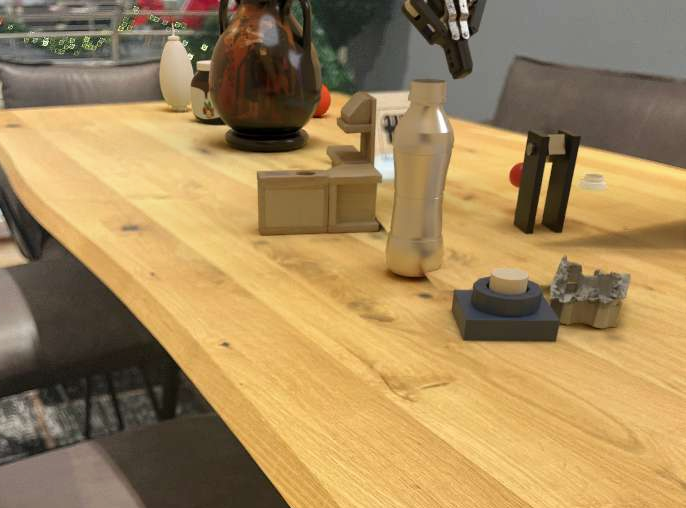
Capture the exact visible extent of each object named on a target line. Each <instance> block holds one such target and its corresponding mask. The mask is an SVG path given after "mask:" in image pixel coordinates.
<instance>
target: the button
mask: <svg viewBox="0 0 686 508" xmlns="http://www.w3.org/2000/svg"><path fill="white" fill-rule="evenodd" d="M490 276H491V277H490V283H489V289H490V290H492V291H494V292H496V293H501V294H506V295H518V294H523V293H526V289H527V284H528V280H529V277H530V275H529V273H528V272H527V271H525V270H523V269H521V268H517V267H516V268H515V267H497V268H494V269H492V270H491V271H490Z"/></svg>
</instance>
